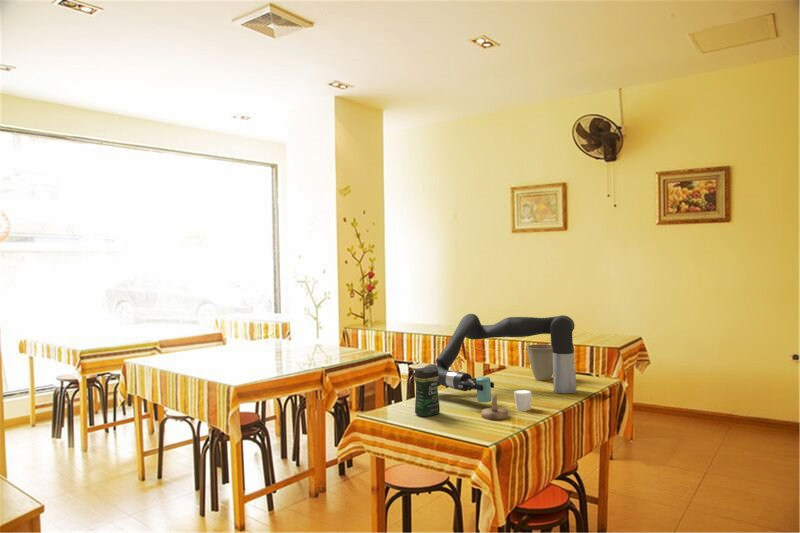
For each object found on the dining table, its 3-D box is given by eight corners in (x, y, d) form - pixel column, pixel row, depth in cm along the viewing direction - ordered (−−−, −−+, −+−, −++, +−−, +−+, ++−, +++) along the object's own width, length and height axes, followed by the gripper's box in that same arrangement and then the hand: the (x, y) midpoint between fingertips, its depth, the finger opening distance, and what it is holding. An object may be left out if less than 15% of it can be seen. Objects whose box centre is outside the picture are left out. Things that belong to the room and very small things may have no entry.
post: (507, 412, 223) (506, 392, 223) (509, 420, 213) (508, 398, 213) (481, 412, 224) (480, 392, 224) (482, 420, 215) (481, 399, 214)
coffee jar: (425, 418, 220) (423, 370, 219) (412, 414, 226) (410, 367, 226) (443, 413, 226) (441, 366, 225) (430, 409, 232) (428, 364, 232)
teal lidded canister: (490, 398, 234) (489, 376, 234) (491, 402, 229) (490, 379, 229) (477, 398, 235) (476, 377, 235) (477, 402, 230) (476, 380, 229)
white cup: (522, 412, 223) (521, 394, 223) (510, 408, 229) (510, 391, 229) (535, 409, 226) (535, 392, 226) (524, 405, 232) (523, 388, 232)
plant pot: (557, 383, 269) (556, 349, 268) (525, 381, 274) (524, 348, 274) (560, 376, 283) (559, 344, 282) (530, 375, 288) (528, 343, 288)
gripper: (446, 374, 239) (475, 380, 225) (470, 369, 247) (499, 374, 234) (446, 392, 239) (476, 399, 225) (471, 386, 248) (500, 392, 234)
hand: (488, 386), depth 230 cm, fingers closed on teal lidded canister, 5 cm apart
